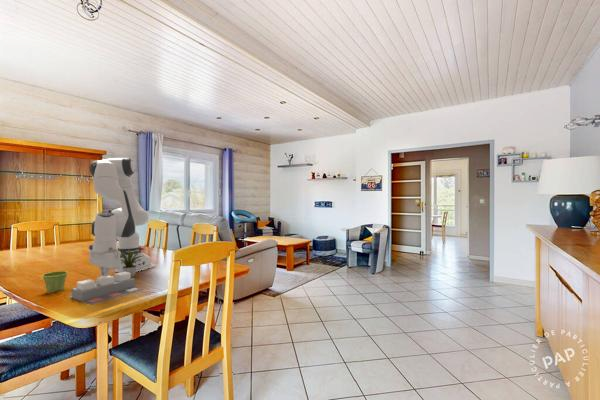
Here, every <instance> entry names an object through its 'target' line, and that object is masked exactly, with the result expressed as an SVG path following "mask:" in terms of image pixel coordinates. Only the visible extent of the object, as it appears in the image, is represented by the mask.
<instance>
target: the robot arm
mask: <svg viewBox="0 0 600 400" xmlns="http://www.w3.org/2000/svg"><path fill="white" fill-rule="evenodd" d="M135 172H136V166H135V163H134V160H132V159H131V158H130V157H115V158H113V157H112V158H106V159H105V158H104V159H101V160H99V159H97V160H93V161H92V162H90V164H89V173H90V175H91V177H93V191H94V192H95V193H96V194H97V195H98V196H99V197H102V198H104V199H106V200H110V201H113V202H115V203H116V204H118V205H119V206H120V207H118V208H115V209H113V210H111V212H109V211H108V212H107V211H105V212H98V213H97V214H96V215H95V217H94V218H95V219H94V221H92V223H91V232H90V234H91V235H92V236H93V237H94V239H93V242H92V244H90V245H88V250H89V251H88V252H89V258H88V259H89V263H90V265H93V266H97V267H99V270H100V275H101V276H100V277H102V276H104V277H106V276H108V275H109V272H110V270H113V271H114V272H115V273H120V272H123V269H122V267H123V266H126V265H125V263H121V262H123V261H121V260H120V259H122V260H124V259H123V258H122V257H123V256H122V257H121V255H120V254H122V252H123V254H125V256H126V255H127V256H126V257H128V251H130V250H131V253H133V252H134V251H135V250H136V251H135V252H134V254H133V256H132V258H133V257H134V255H135V254H136V253H138V252H139V251H140V252H139V253H140V255H139V253H138V254H137V255H136V256H135V258H136V257H138V256H142V257H139V258H137V259H141V261H138V260H137V259H136V261H137V262H136V264H135V263H134V264H133V265H136V266H137V267H136V272H135V273H137V272H138V271H139V272H141V270H142V271H145V270H149V269H152V268H155V267H156V264H155V263H152V259H151V257H150V256H149V255H147V254H145V253H144V252H142V251H145V250H146V248H145V247H144V246H140V234H139V232H137V227H139V226H143V225H145V224H147V222H148V221H149V217H150V215H149V213H148V211H147V210H145V209H144V208H143V207H142V206H141V204H140V203H139V201H138V199H137V196H136V194H135V190H134V185H133V181H132V178H131V176H132V175H134V173H135ZM117 238H118V239H117ZM117 241H118V247H117ZM123 254H122V255H123ZM127 260H128V259H127ZM131 260H132V259H131ZM124 261H125V260H124ZM148 268H149V269H148Z"/></svg>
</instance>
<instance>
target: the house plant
mask: <svg viewBox="0 0 600 400" xmlns="http://www.w3.org/2000/svg"><path fill="white" fill-rule="evenodd" d="M135 251H136V250H135ZM135 251H134V252H135ZM134 252H133V253H131V250H130V251H128V257H126V256H127V255H126V256H125V254H123V252H122V254H123V255H122V254H120V255H121V257H122V256H123V257H122V258H123V259H124V260H125V261H124V260H122V259H120V260H121V261H123V262H121V263H125V265H126V266H123V267H122V269H123V272H129V273H131V277H134V276H135V275H136V273H137V272H136V267H137V266H136V265H133V264H134V263H135V264H136V262H137V261H136V259H137V258H139V257H142V256H138V257H136V258H135V256H136V255H137V254H138V253H139V252H140V251H139V252H138V253H136V254H135V255H134V257H133V258H132V256H133V254H134ZM139 255H140V253H139ZM127 259H128V260H127ZM131 259H132V260H131ZM137 260H138V261H141V259H137Z"/></svg>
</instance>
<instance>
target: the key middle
mask: <svg viewBox="0 0 600 400" xmlns="http://www.w3.org/2000/svg"><path fill="white" fill-rule="evenodd" d="M114 279H115V276H113V275H109V274H108V276H106V277H104V276H98V277H96V283H97V285H100V286H105V285H109V284H113V283H114Z"/></svg>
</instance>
